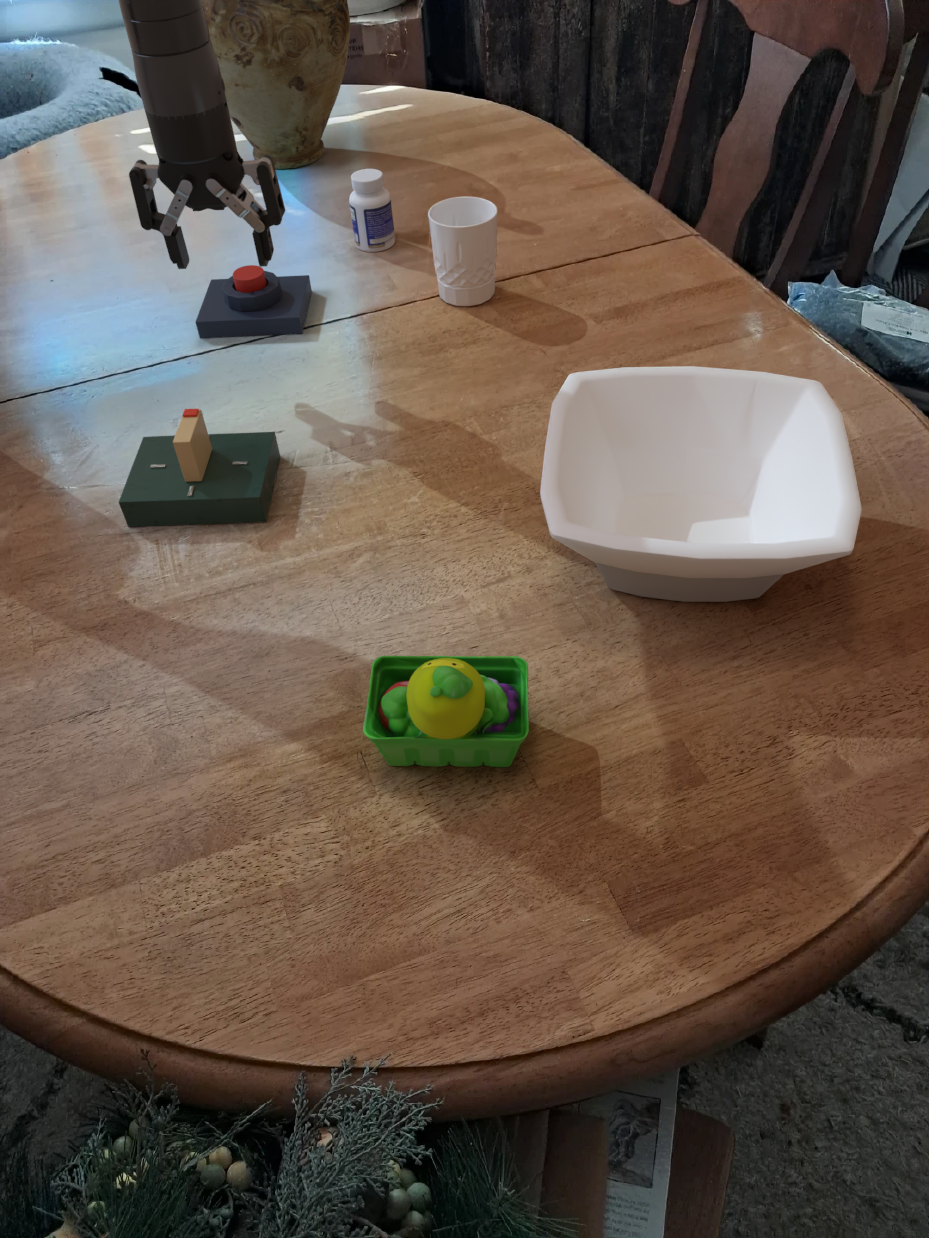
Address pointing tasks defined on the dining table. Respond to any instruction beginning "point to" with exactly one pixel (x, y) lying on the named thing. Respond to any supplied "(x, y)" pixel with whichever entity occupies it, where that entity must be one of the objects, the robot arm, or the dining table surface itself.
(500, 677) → the fruit basket
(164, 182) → the robot arm
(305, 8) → the vase
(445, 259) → the white cup
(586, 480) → the bowl
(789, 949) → the dining table surface
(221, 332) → the button box
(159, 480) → the panel
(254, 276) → the button
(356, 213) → the pill bottle
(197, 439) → the knob
